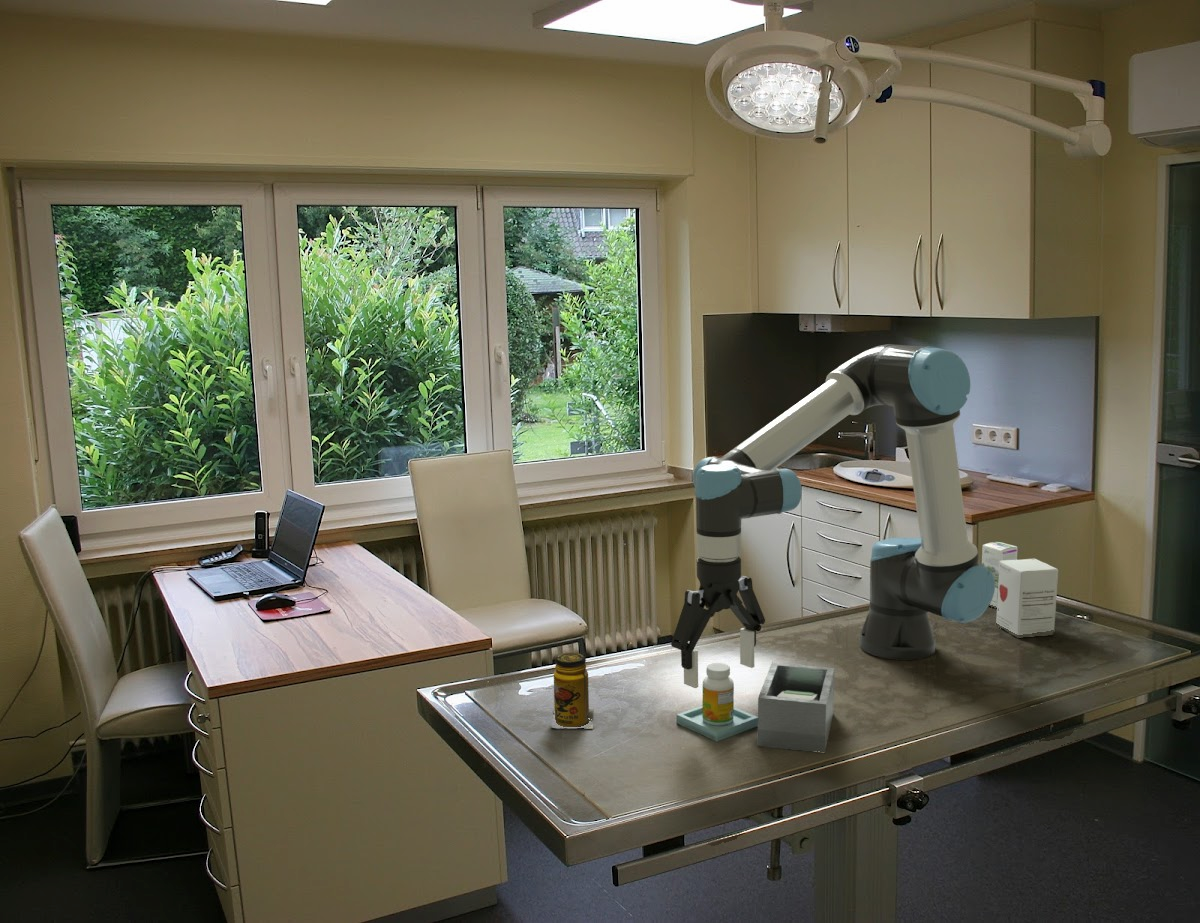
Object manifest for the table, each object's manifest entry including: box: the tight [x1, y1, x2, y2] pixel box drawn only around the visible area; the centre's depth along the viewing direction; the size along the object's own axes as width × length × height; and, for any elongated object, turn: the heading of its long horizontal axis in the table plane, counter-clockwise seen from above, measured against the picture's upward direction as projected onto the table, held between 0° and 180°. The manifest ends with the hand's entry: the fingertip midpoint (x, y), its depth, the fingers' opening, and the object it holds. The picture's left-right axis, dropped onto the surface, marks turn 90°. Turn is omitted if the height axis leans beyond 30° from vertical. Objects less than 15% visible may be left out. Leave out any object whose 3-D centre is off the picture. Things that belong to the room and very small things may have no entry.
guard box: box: [756, 661, 835, 753], centre depth 190 cm, size 17×11×8 cm, turn 164°
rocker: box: [777, 690, 818, 701], centre depth 190 cm, size 10×7×2 cm
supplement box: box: [995, 558, 1059, 635], centre depth 239 cm, size 9×9×15 cm
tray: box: [675, 705, 758, 742], centre depth 193 cm, size 10×10×2 cm
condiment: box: [553, 652, 595, 730], centre depth 194 cm, size 7×8×12 cm
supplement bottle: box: [701, 662, 735, 726], centre depth 192 cm, size 5×5×10 cm
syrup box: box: [981, 541, 1019, 607], centre depth 257 cm, size 6×6×14 cm
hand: (719, 675), depth 191 cm, fingers open, 13 cm apart
